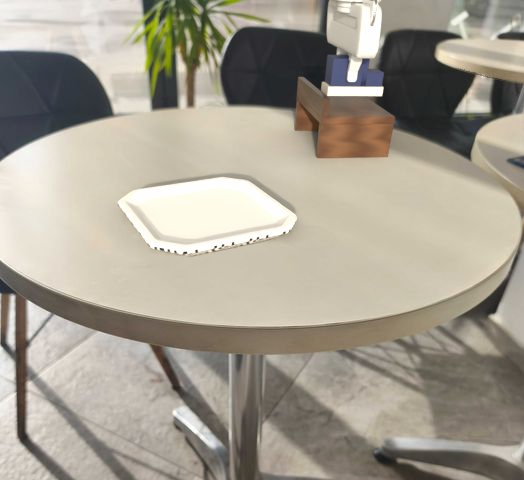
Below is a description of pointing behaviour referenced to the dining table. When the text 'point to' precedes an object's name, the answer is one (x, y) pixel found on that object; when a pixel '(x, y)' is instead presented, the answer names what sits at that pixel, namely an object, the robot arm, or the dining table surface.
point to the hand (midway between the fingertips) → (346, 78)
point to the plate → (205, 215)
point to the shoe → (339, 86)
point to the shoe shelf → (343, 123)
